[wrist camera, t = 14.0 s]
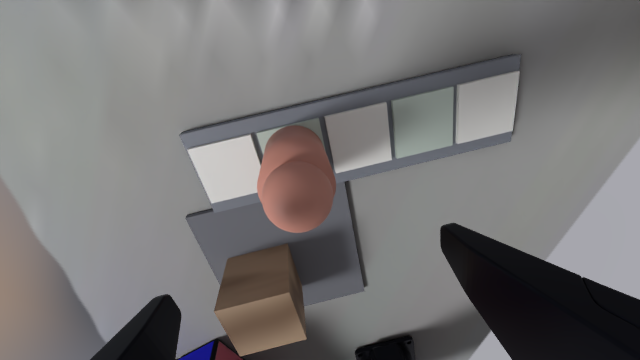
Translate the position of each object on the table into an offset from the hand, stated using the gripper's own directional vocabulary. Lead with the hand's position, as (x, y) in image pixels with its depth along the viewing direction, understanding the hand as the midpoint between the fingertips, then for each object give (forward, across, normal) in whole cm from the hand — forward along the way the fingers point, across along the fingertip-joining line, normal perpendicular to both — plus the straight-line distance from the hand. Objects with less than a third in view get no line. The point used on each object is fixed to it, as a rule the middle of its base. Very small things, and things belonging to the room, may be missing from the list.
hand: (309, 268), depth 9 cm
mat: (+12, +3, +9) cm, 15 cm away
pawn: (+11, 0, 0) cm, 11 cm away
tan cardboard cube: (+11, +5, +10) cm, 16 cm away
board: (+12, -4, 0) cm, 13 cm away
